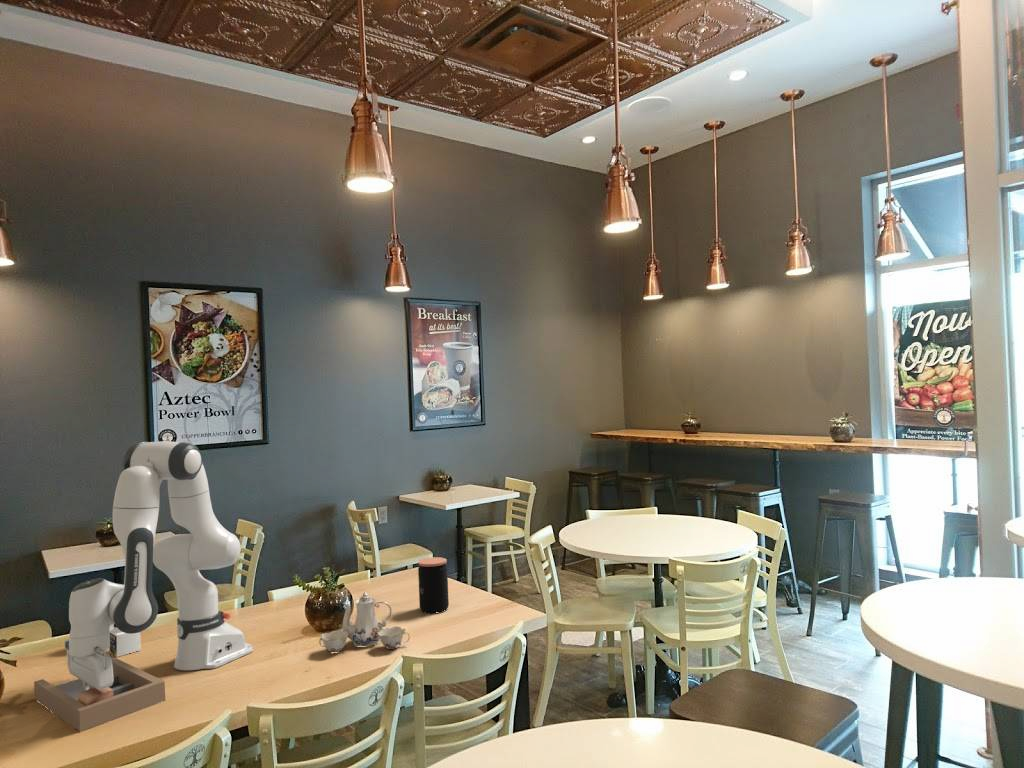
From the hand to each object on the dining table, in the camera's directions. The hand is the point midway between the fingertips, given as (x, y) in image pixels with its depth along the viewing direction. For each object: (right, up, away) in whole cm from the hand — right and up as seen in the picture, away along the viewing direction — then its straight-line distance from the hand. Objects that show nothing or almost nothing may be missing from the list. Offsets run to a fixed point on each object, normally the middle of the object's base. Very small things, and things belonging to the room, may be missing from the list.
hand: (91, 697), depth 171 cm
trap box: (-3, -4, +7) cm, 8 cm away
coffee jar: (+80, -2, +73) cm, 108 cm away
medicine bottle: (-16, -6, +43) cm, 46 cm away
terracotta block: (+4, -1, -4) cm, 5 cm away
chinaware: (+63, -2, +38) cm, 73 cm away
